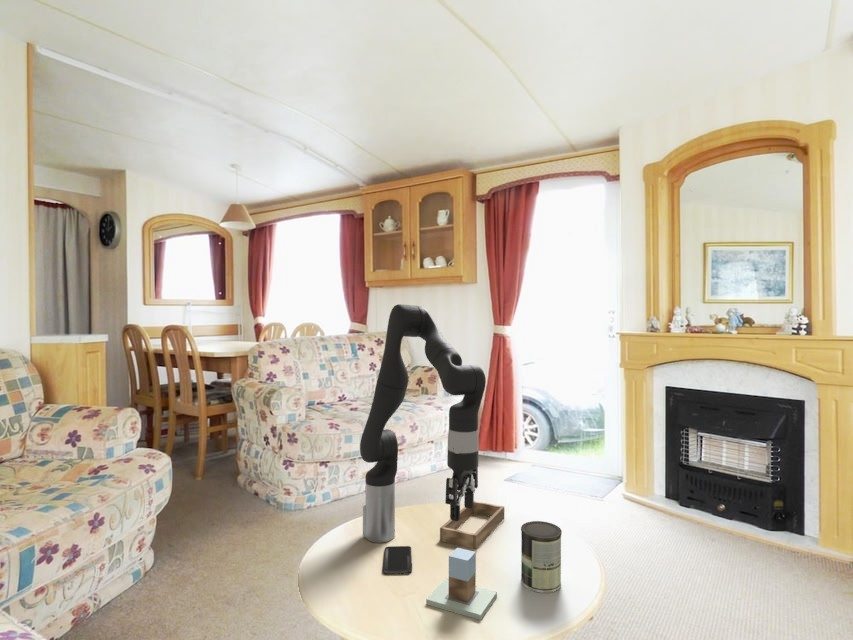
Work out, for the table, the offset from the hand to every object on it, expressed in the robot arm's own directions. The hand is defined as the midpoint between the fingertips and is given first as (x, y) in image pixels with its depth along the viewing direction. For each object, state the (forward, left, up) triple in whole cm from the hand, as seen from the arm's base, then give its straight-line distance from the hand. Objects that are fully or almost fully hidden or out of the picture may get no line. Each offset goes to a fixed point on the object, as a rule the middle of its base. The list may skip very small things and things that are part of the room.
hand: (462, 513), depth 123 cm
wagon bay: (-13, +40, -21) cm, 47 cm away
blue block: (0, 0, -15) cm, 15 cm away
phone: (-24, +10, -22) cm, 34 cm away
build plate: (0, 0, -21) cm, 21 cm away
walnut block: (0, 0, -20) cm, 20 cm away
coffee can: (+15, +17, -22) cm, 31 cm away
